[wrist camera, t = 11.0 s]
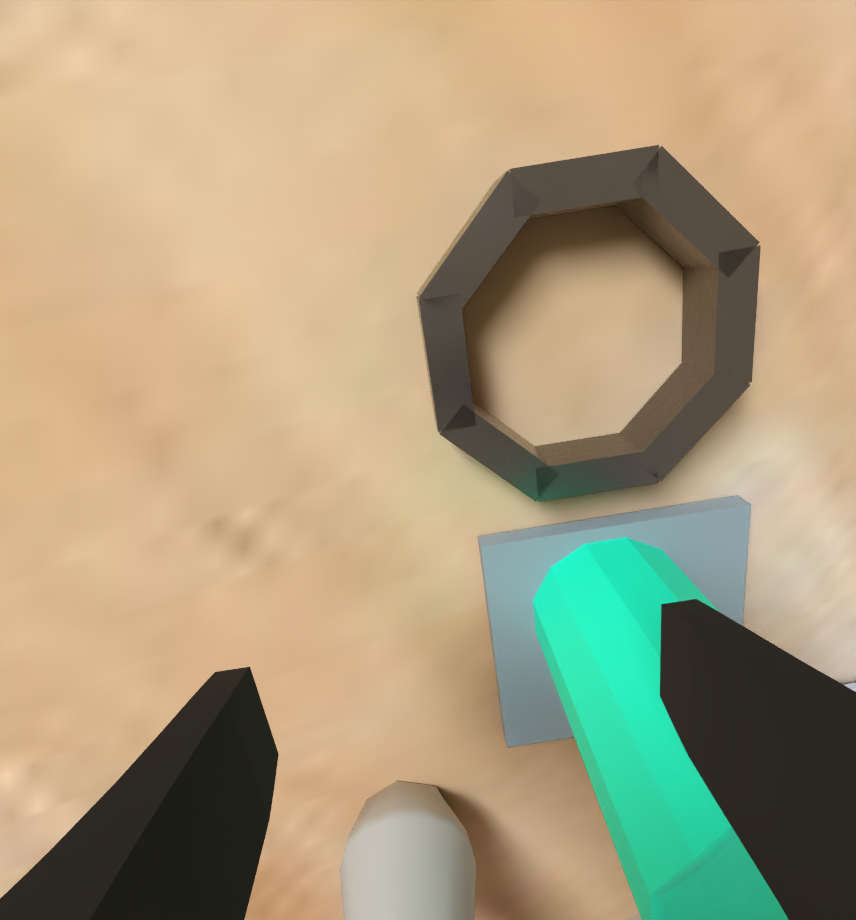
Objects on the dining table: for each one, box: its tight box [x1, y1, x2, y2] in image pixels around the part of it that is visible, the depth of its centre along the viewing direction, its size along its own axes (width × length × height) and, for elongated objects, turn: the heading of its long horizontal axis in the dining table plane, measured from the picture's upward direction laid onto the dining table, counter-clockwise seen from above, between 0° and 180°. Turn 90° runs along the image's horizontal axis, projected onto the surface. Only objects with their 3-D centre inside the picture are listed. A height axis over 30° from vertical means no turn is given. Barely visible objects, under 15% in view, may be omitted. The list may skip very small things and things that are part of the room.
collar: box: [417, 145, 760, 502], centre depth 17 cm, size 10×10×2 cm
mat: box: [478, 495, 751, 748], centre depth 22 cm, size 10×10×1 cm
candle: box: [533, 537, 789, 920], centre depth 15 cm, size 6×6×12 cm
